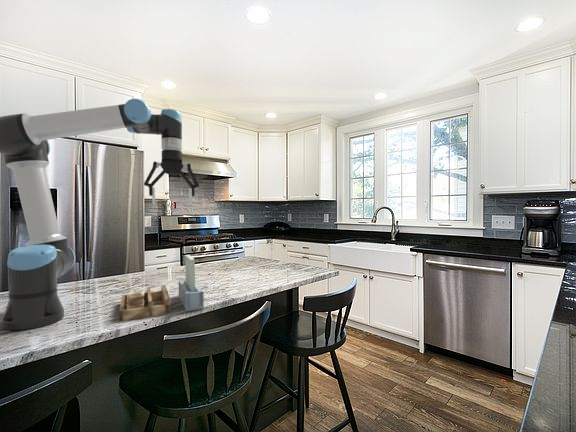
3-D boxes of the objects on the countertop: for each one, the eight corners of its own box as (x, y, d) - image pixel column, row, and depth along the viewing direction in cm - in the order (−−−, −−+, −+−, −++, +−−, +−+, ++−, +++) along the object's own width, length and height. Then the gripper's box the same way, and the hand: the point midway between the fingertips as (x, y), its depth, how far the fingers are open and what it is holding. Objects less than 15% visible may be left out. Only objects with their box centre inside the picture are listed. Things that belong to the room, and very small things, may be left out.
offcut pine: (127, 309, 108) (126, 296, 108) (130, 304, 113) (130, 292, 113) (142, 307, 109) (142, 295, 109) (145, 302, 115) (145, 290, 115)
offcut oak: (126, 318, 99) (126, 306, 98) (127, 312, 104) (127, 301, 104) (143, 316, 101) (143, 304, 100) (144, 310, 106) (144, 299, 106)
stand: (185, 311, 105) (185, 293, 105) (178, 296, 123) (178, 281, 123) (203, 308, 108) (203, 291, 108) (194, 294, 126) (194, 279, 125)
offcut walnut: (130, 305, 99) (129, 298, 99) (128, 301, 103) (128, 294, 103) (143, 303, 101) (143, 296, 101) (141, 300, 105) (141, 292, 105)
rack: (119, 320, 96) (119, 304, 96) (122, 303, 114) (122, 289, 114) (170, 313, 103) (170, 298, 103) (165, 297, 121) (165, 285, 121)
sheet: (190, 304, 110) (190, 259, 109) (185, 295, 120) (185, 255, 120) (195, 303, 110) (194, 259, 110) (190, 295, 121) (189, 254, 121)
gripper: (136, 146, 112) (137, 204, 112) (206, 151, 123) (206, 204, 123) (136, 149, 118) (137, 204, 119) (202, 154, 129) (202, 204, 130)
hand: (172, 204), depth 121 cm, fingers open, 13 cm apart
